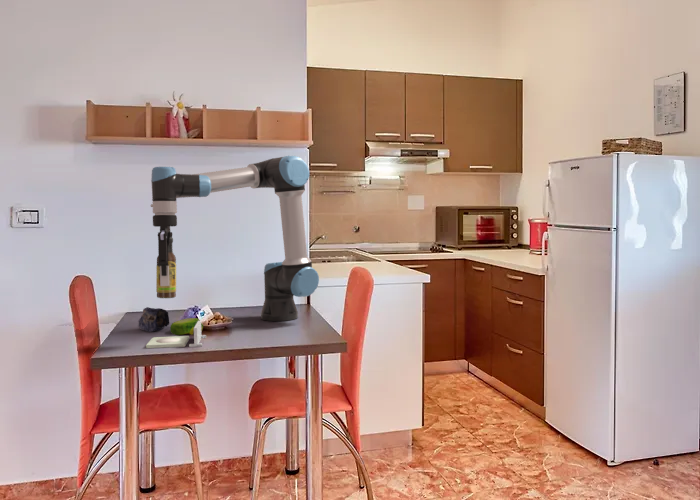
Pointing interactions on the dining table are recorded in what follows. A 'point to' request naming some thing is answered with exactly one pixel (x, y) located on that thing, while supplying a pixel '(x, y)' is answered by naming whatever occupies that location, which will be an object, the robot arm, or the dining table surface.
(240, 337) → the dining table surface
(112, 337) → the dining table surface
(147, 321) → the rock
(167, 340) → the pad
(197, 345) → the divider
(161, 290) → the sauce bottle
